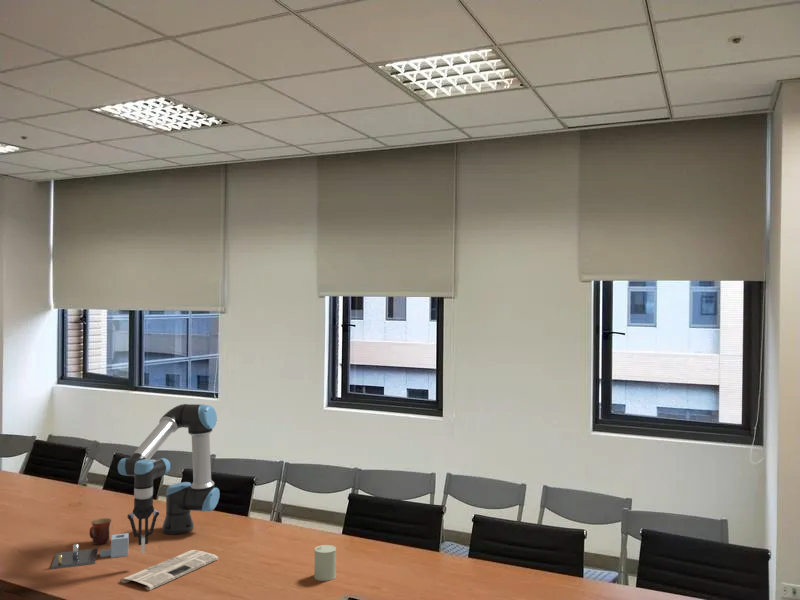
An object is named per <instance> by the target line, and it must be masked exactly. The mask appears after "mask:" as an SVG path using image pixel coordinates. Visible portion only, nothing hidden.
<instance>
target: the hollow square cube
mask: <svg viewBox="0 0 800 600" xmlns="http://www.w3.org/2000/svg"><path fill="white" fill-rule="evenodd" d="M129 534H130V533H129V532H126V533H117V534H112V535H111V538H110V541H111V543H110V548H109V549H108V548H107V549H101V550H100V551H99V552H100V553H99V557H100V558H105V557H110V558H111V559H113V558H119V557H120V558H121V557H128V555H129V545H130V544H129V536H130V535H129Z"/></svg>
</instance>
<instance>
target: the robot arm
mask: <svg viewBox="0 0 800 600" xmlns="http://www.w3.org/2000/svg"><path fill="white" fill-rule="evenodd" d="M217 418H218V415H217V412H216V409H215V408H214V407H213V406H212V405H209V404H196V403H195V404H194V403H193V404H192V403H190V404H188V403H182V404H179V405H176V406H175V407H173V408H171V409H169V410H168V411H167V412H166V413H165V414H163V416H161V418H160V419H159V421H158V424H157V425H156V427H155V428H154V429H153V430H152V431H151V433H150V434H148V436H147V437H146V438H145V439H144V441H143V442H141V444H140V445H139V446H138V447H137V448H136V449H135V451H134V452H133V453H132V454H131V455H130V457H124V458H121V459H120V460H119V461H118V463H117V471H118V474H120V475H121V476H127V477H134V487H133V488H134V489H133V491H134V492H133V496H134V500H133V510H132V512H131V513H127V519H128V521H130V526H131V530H132V534H133V537H134V538H138V541H137V542H138V543H137V544H138V546H141V547H140V548H141V549H140V554H145V553H146V545H148V543H149V536H152V535H153V533H154V529H155V525H156V522H157V518H158V516H159V515H160V511H159V510H156V509H155V507H154V496H153V495H154V480H157V479H158V478H160V477H164V476H165V475H167V474H169V472H170V470H171V462H170V461H169V460H168V459H167V458H165V457H161V458H157V459H151V458H152V457H153V456H154V455H155V454H156V453H157V451H158V450H159V449H160V447H161V446H162V445H163V444H164V443H165V442H166V440H168V438H169V437H170V436H171V434H173V433H176V431H178V429H182V428H183V429H185V428H187V430H188V431H187V433H188V434H189V435H190V436H191V453H192V454H191V455H192V457H191V458H192V476H193V477H192V479H193V481H192V483H191V482H189V481H183V482H178V483H174V484H170V485H169V486H168V487H167V488H166V494H165V495H166V499H165V503H166V505H165V511H166V512H165V513H166V514H165V517H164V521H163V523H162V527H161V528H162V529H161V531H162V533H163V534H165V535H182V534H185V533H189V532H191V531H193V530H194V521H193V517H192V515H191V511H194V512H195V511H197V512H211V511H213V510H215V508H216V507H217V505H218V503H219V499H220V489H219V488H218V487H217V486H216V487H215V481H213V479H212V468H211V467H212V466H211V442H210V441H211V440H210V439H211V438H210V437H211V436H210V434H211V433H212V432H213V429H214V428H215V426H216V425H217V421H218V419H217ZM151 516H153V517H152V519H151V520H152V521H151V525H150V527H149V518H150V517H151ZM134 517H136V519H138V531H137V528H136V524H135V520H134ZM143 520H144V535H142V525H143V524H142V523H143V522H142V521H143Z"/></svg>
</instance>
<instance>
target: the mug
mask: <svg viewBox="0 0 800 600" xmlns="http://www.w3.org/2000/svg"><path fill="white" fill-rule="evenodd" d="M90 523H91V524H90V525H91V526H90V528H89V531H88V532H89V537H90V539H91V541H92V543H93V545H96V546H102V545H105V544H107V543H108V542H109V541H110V531H111V530H110V526H111V523H112V519H111V518H107V517H105V518H97V519H94V520H92V521H91V522H90Z"/></svg>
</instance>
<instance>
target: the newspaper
mask: <svg viewBox="0 0 800 600" xmlns="http://www.w3.org/2000/svg"><path fill="white" fill-rule="evenodd" d="M218 560H219V556H217V554H213V553H210V552H207V551H204V550H203V551H202V550H197V549H191V550H188V551H186V552H183V553H181V554H179V555H176V556H174V557H171V558H169V559H166V560H164V561H162V562H160V563H157V564H154V565H151V566H150V567H146V568H145V569H142V570H140V571H137V572H135V573H133V574H130V575H127V576H126V577H125V576H124V578H120V583H126V584H127V583H129V582H131V581H134V582H137V583H139V584H142V585H145V587H144V589H146V590H147V591H152V590H154V589H156V588H158V587H160V586H163V585H165V584H167V583H169V582H171V581H173V580H175V579H177V578H178V579H179V578H181V577H183V576H185V575H187V574H190V573H191V572H193V571H195V570H198V569H201V568H202V567H205V566H207V565H209V564H211V563H214V562H215V561H218Z"/></svg>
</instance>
